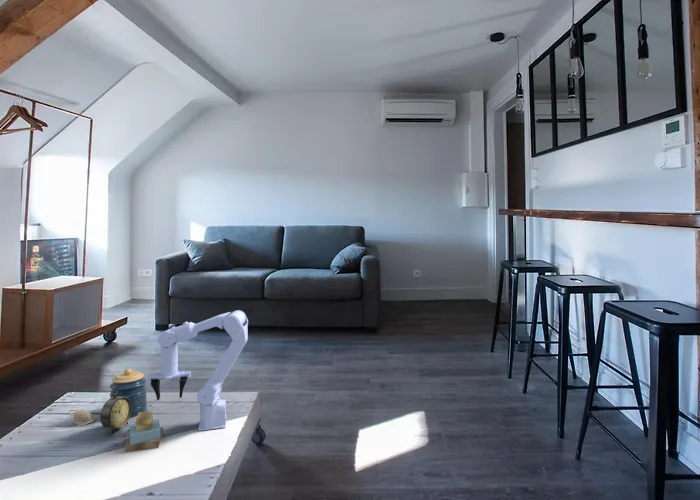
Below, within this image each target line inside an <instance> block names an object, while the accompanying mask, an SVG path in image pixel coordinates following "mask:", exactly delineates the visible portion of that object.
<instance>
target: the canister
mask: <svg viewBox="0 0 700 500" xmlns="http://www.w3.org/2000/svg"><path fill="white" fill-rule="evenodd" d="M144 376H145V374H144V373H143V372H140V371H138V370H132V369H131V368H126V369H125V370H124V371H123V372H120V373H118V374H117V375H115V376H114V377H112V379H111V383H110V385H109V389H110V390H112V388H113V387H114V386H117V387H118V392H117V387H114V388H113V390H112V394H116V392H117V394H116V397H127V398H128V399H129V400H130V402H131V405H132V412H131V416H130V418H133V417H134V418H135V417H137V415H138V413H139V412H146V411H147V407H148V402H147V389H148V388H147V387H146V383H147V379H146V378H145V377H144ZM112 394H111V392H110V393H109V397H110V398H112V397H114V396H113V395H112ZM110 398H109V399H110Z"/></svg>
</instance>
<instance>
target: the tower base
mask: <svg viewBox="0 0 700 500" xmlns="http://www.w3.org/2000/svg"><path fill="white" fill-rule="evenodd" d="M163 436H164V426H160V437H161V438H159V439H155V440H150V441H146V442H141V443H137V444H132V445H130V435H129V436H128V438H127V441H126V443H125V445H124V451H125V453H130V452H131V453H132V452H138V451H146V450H153V449H154V450H155V449H159V448H160V445H161V442H162V439H163Z"/></svg>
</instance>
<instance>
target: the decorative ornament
mask: <svg viewBox="0 0 700 500" xmlns="http://www.w3.org/2000/svg"><path fill="white" fill-rule="evenodd" d="M71 411H73V412H75V413H72V412H71ZM68 414H69V415H70V416H73V417H74V424H75V425H76V426H78V427H79V426H85V425H88V424H90V423H93V422H95V421H96V419H95V418H94V416H93V413H92V412H91V411H90V410H88V409H74V408H72V409H69V410H68Z"/></svg>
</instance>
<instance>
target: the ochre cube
mask: <svg viewBox="0 0 700 500" xmlns="http://www.w3.org/2000/svg"><path fill="white" fill-rule="evenodd" d="M135 420H136V422H135V423H136V430H137V431H140V430H147V429H151V427H152V425H153V420H154V411H153V410H150V411H149V410H148V411H147V410H146V411H144V412H139V413H138V415H137V416H135Z"/></svg>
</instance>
